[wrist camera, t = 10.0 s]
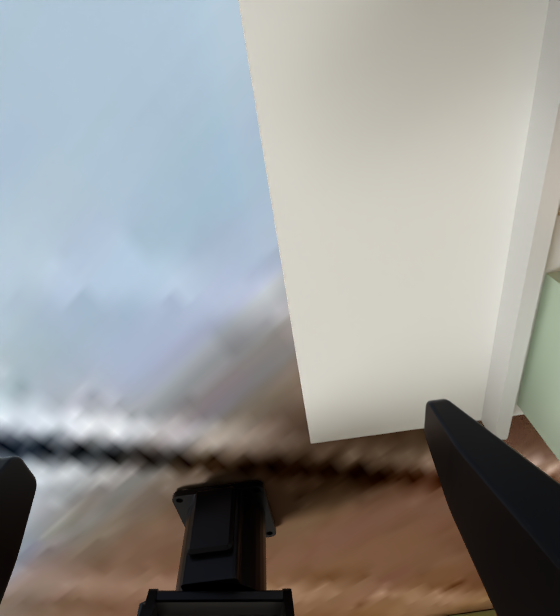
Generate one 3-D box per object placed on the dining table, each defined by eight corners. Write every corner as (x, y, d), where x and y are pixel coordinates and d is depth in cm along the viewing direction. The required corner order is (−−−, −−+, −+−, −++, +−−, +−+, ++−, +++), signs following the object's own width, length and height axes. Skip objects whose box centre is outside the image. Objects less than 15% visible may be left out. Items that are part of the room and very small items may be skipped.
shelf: (624, 389, 25) (660, 421, 23) (309, 433, 26) (314, 468, 24) (850, -161, 13) (973, -206, 11) (231, -45, 14) (226, -65, 11)
